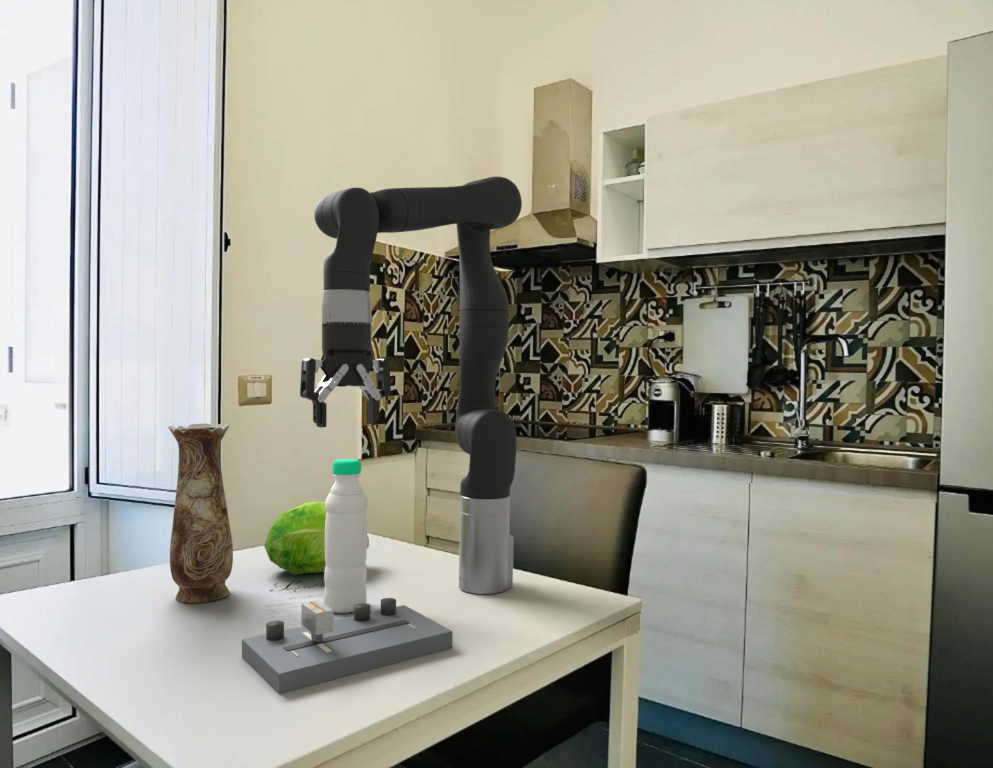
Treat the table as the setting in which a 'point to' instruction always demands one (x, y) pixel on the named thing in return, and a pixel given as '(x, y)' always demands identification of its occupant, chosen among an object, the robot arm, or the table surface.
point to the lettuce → (299, 539)
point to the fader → (317, 619)
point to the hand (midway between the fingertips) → (346, 425)
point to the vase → (200, 517)
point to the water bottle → (345, 539)
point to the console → (343, 646)
